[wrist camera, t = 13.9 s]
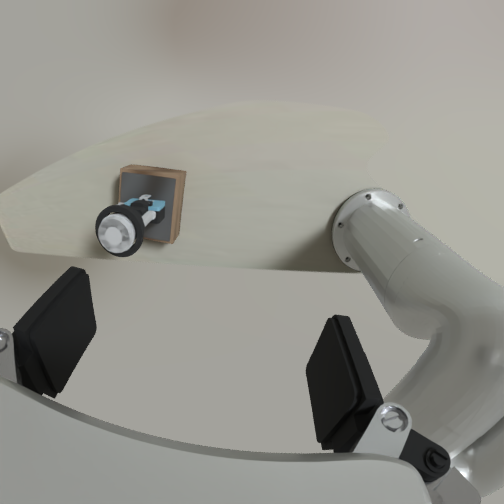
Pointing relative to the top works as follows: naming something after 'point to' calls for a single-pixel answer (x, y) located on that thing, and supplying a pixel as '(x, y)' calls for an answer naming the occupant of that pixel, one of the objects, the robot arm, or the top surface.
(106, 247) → the push button
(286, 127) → the top surface
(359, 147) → the top surface
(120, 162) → the top surface
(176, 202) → the stand
